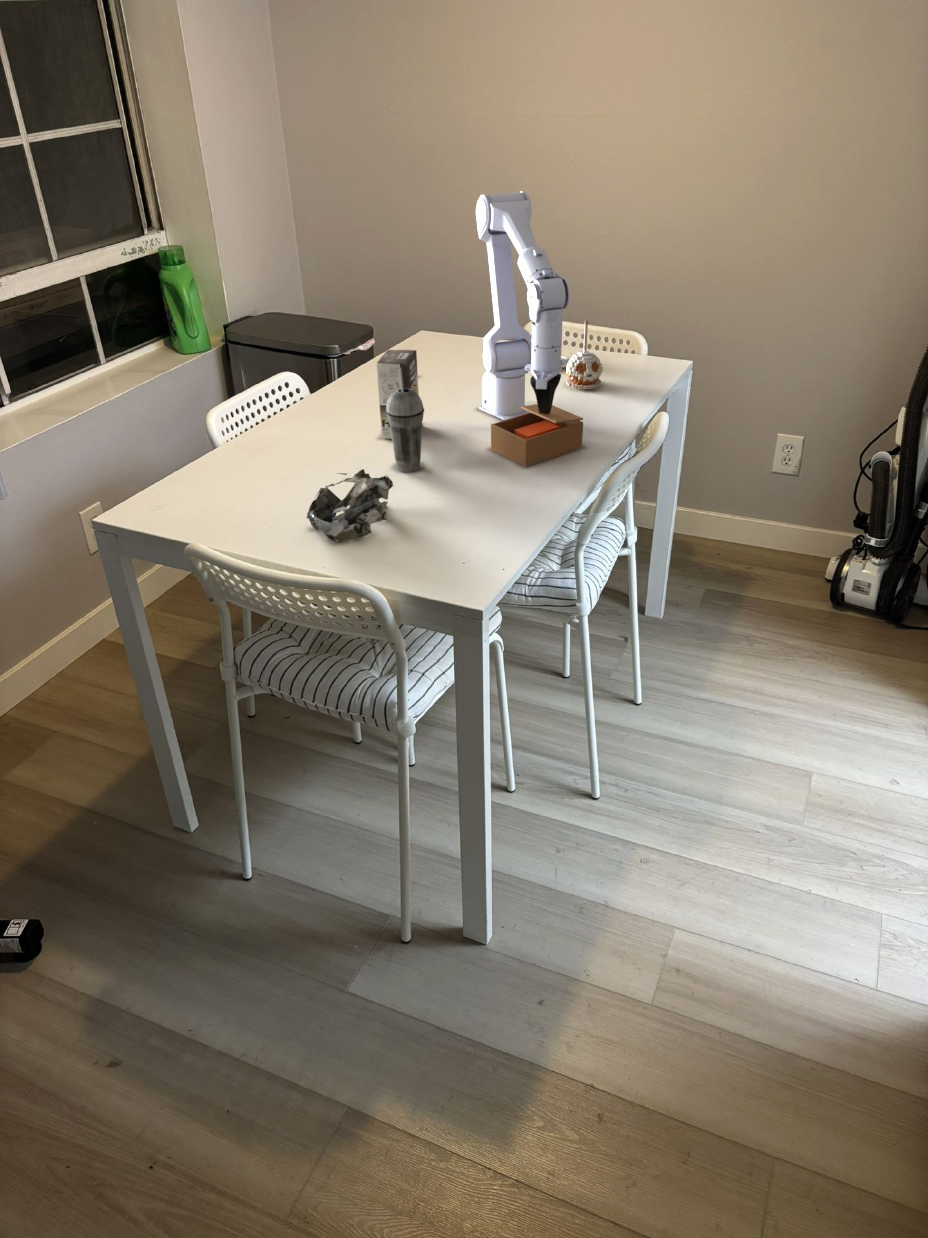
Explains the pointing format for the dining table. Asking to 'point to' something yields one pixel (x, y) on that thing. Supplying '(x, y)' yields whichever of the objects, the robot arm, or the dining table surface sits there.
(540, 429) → the block
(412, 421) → the beverage cup
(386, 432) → the coffee box
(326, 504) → the foil
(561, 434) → the box
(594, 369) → the decorative ornament
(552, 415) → the flap
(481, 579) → the dining table surface
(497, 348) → the robot arm
